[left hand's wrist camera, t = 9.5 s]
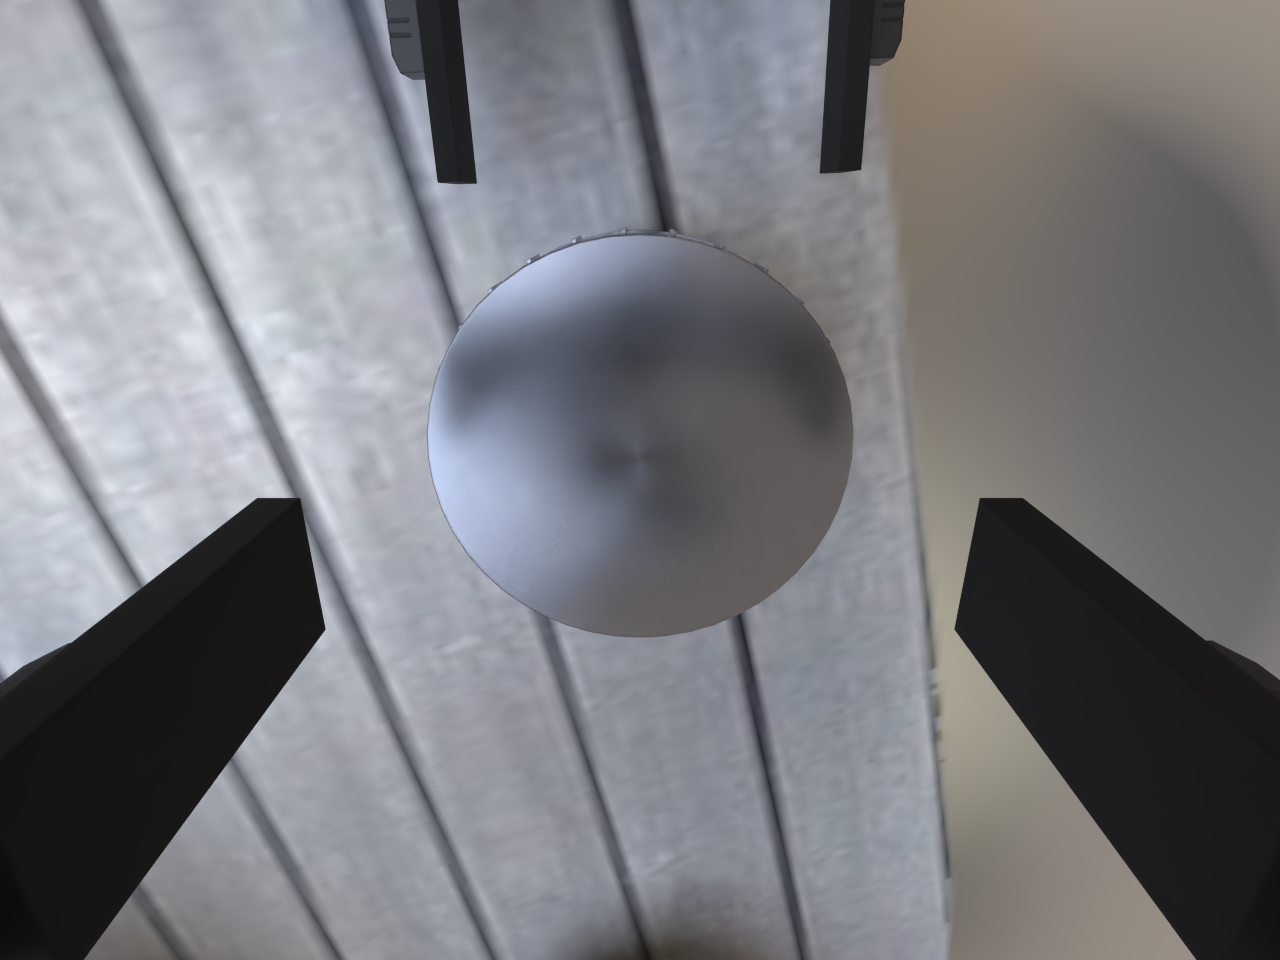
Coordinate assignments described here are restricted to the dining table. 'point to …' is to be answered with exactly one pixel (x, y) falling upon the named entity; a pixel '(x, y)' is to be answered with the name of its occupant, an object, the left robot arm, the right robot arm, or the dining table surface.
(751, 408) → the lid
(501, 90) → the dining table surface
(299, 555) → the left robot arm
